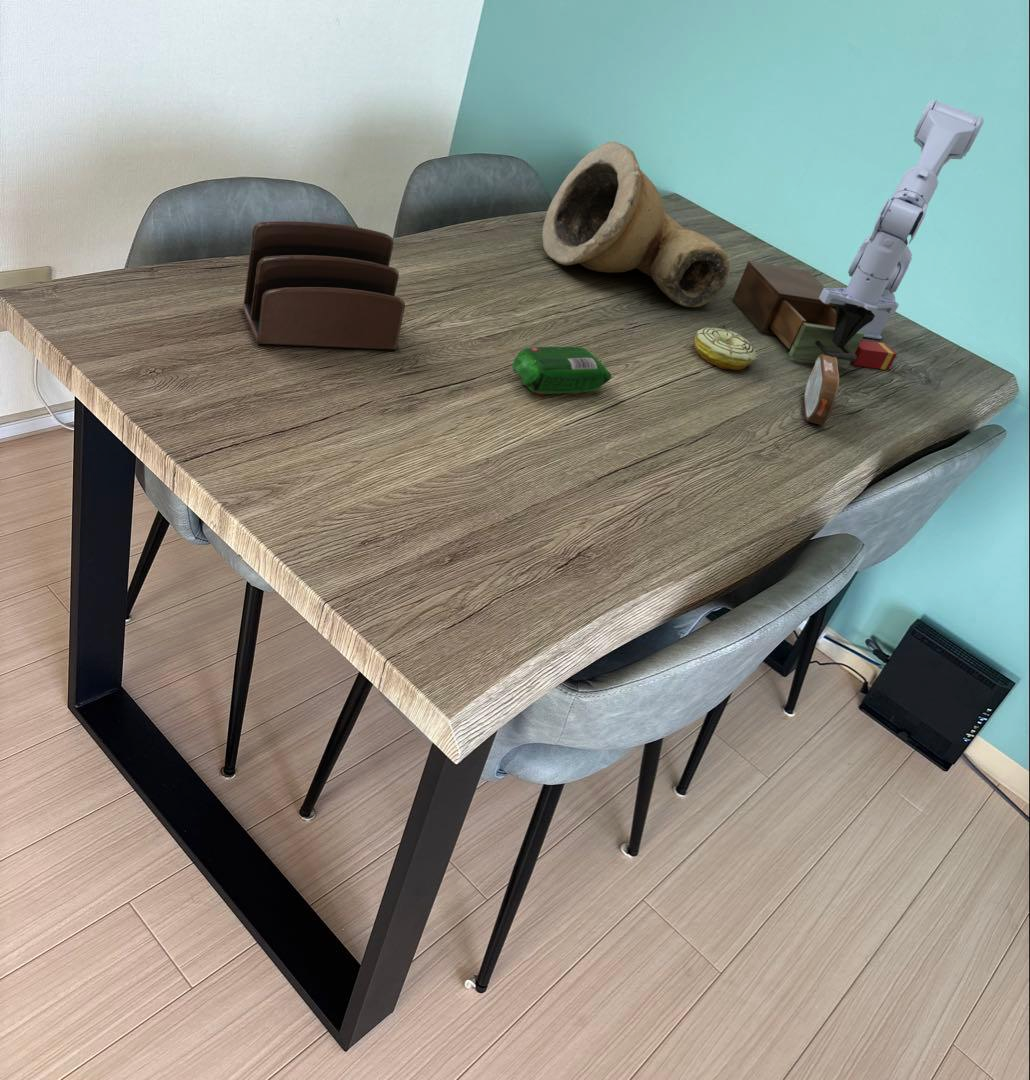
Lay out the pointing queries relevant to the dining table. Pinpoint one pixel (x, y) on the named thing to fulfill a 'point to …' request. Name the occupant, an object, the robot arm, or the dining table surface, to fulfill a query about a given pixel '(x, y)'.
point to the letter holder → (322, 286)
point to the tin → (821, 389)
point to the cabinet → (773, 291)
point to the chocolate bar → (874, 355)
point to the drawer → (811, 331)
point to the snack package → (560, 370)
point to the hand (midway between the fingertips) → (837, 344)
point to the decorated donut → (724, 348)
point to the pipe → (629, 229)
